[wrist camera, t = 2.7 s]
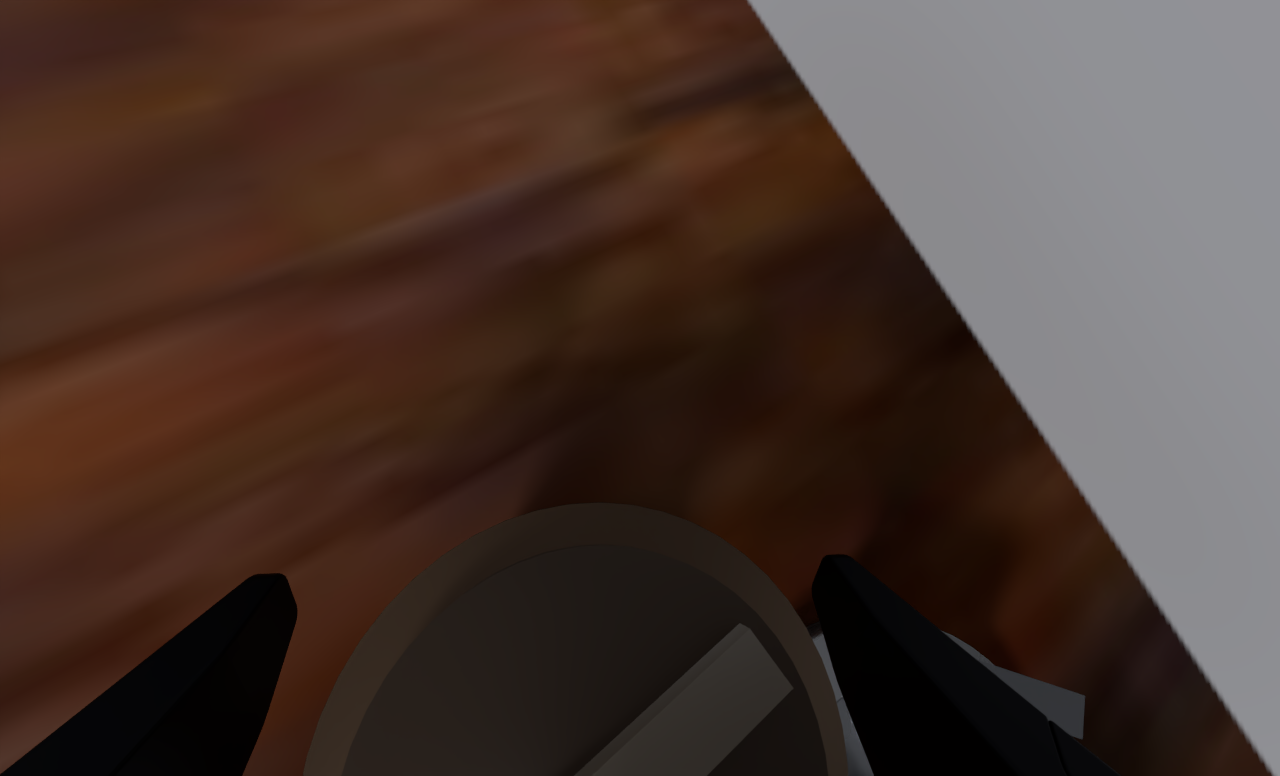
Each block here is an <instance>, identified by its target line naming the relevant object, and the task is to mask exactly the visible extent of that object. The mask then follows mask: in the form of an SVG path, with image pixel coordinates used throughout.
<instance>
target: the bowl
mask: <svg viewBox="0 0 1280 776" xmlns="http://www.w3.org/2000/svg"><path fill="white" fill-rule="evenodd" d="M806 628H807V630H808V632H809V634H810V636H811V638H812V640H813V642H814V644H815V646H816V648H817V650H818V652H819V654H820V656H821V658H822V661H823V663H824V666H825V669H826V672H827V674H828V677H829V680H830V682H831V685H832V688H833V691H834V694H835V698H836V702H837V706H838V710H839V714H840V719H841V723H842V727H843V734H844V741H845V748H846V756H847V763H848V776H874V775H873V772H872V770H871V767H870V765H869V762H868V759H867V757H866V754H865V752H864V749H863V747H862V744H861V742H860V739H859V737H858V734H857V732H856V729H855V727H854V724H853V721H852V719H851V716H850V714H849V711H848V709H847V706H846V704H845V701H844V699H843V696H842V693H841V691H840V688H839V685H838V683H837V680H836V676H835V673H834V670H833V667H832V663H831V660H830V656H829V653H828V649H827V646H826V642H825V639H824V635H823V632H822V628H821V625H820V621H819V622H816V623H814V624H811V625H809V626H808V627H806ZM942 632H944V631H942ZM944 633H945V634H946V635H947V636H948V637H950V638H951V639H952V640H953V641H955V642H956V643H957V644H958V645H960V646H961V647H962V648H963V649H964V650H966V651H967V652H968V653H969V654H971V655H972V656H973V657H974V658H975V659H977V660H978V661H979V662H980V663H982V664H983V665H984V666H985V667H987V668H988V669H989V670H990V671H991V672H993V673H994V674H995V675H996V676H998V677H999V678H1000V679H1001V680H1003V681H1004V682H1005V683H1006V684H1007V685H1009V686H1010V687H1011V688H1012V689H1014V690H1015V691H1016V692H1017V693H1019V694H1020V695H1021V696H1022V697H1023V698H1025V699H1026V700H1027V701H1028V702H1030V703H1031V704H1032V705H1033V706H1035V707H1036V708H1037V709H1038V710H1039V711H1041V712H1042V713H1043V714H1044V715H1045V716H1046V717H1047V719H1048V721H1049V720H1051V721H1053V722H1054V723H1056V724H1057V725H1058V726H1059V727H1061V728H1062V729H1063V730H1064V731H1065V732H1067V733H1068V734H1069V735H1071V736H1074V737H1077V738H1080V739H1083V722H1084V703H1085V696H1084V695H1081V694H1078V693H1075V692H1072V691H1069V690H1066V689H1063V688H1060V687H1057V686H1054V685H1051V684H1048V683H1045V682H1042V681H1039V680H1036V679H1033V678H1030V677H1027V676H1024V675H1021V674H1018V673H1015V672H1012V671H1009V670H1006V669H1003V668H1000V667H997V666H994V665H993V664H992V663H991V662H990V661H989V660H988V659H987V658H986V657H984V656H983V655H982V654H980V653H979V652H978V651H977V650H975V649H974V648H973V647H971V646H970V645H968V644H966V643H965V642H963V641H961V640H960V639H958V638H956V637H954V636H953V635H951V634H948V633H946V632H944Z"/></svg>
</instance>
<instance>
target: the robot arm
mask: <svg viewBox="0 0 1280 776" xmlns="http://www.w3.org/2000/svg"><path fill="white" fill-rule="evenodd" d="M812 597H813V601H814V604H815V608H816V611H817V615H818V618H819V621H820V625H821V628H822V632H823V635H824V639H825V642H826V646H827V649H828V653H829V656H830V660H831V663H832V667H833V670H834V673H835V676H836V680H837V683H838V685H839V688H840V691H841V693H842V696H843V699H844V701H845V704H846V706H847V709H848V711H849V714H850V716H851V719H852V721H853V724H854V727H855V729H856V732H857V734H858V737H859V739H860V742H861V744H862V747H863V749H864V752H865V754H866V757H867V759H868V762H869V765H870V767H871V770H872V772H873V775H874V776H1121V775H1120V774H1118V773H1117V772H1116V771H1114V770H1113V769H1112V768H1111V767H1109V766H1108V765H1107V764H1106V763H1104V762H1103V761H1102V760H1101V759H1099V758H1098V757H1097V756H1095V755H1094V754H1093V753H1092V752H1090V751H1089V750H1088V749H1087V748H1085V747H1084V746H1083V745H1082V744H1080V743H1079V742H1078V741H1077V740H1075V739H1074V738H1073V737H1072V736H1070V735H1069V734H1068V733H1067V732H1065V731H1064V730H1063V729H1062V728H1061V727H1059V726H1058V725H1057V724H1056V723H1054V722H1053V721H1051V720H1049V721H1048V719H1047V717H1046V716H1045V715H1044V714H1043V713H1042V712H1041V711H1039V710H1038V709H1037V708H1036V707H1035V706H1033V705H1032V704H1031V703H1030V702H1028V701H1027V700H1026V699H1025V698H1023V697H1022V696H1021V695H1020V694H1019V693H1017V692H1016V691H1015V690H1014V689H1012V688H1011V687H1010V686H1009V685H1007V684H1006V683H1005V682H1004V681H1003V680H1001V679H1000V678H999V677H998V676H996V675H995V674H994V673H993V672H991V671H990V670H989V669H988V668H987V667H985V666H984V665H983V664H982V663H980V662H979V661H978V660H977V659H975V658H974V657H973V656H972V655H971V654H969V653H968V652H967V651H966V650H964V649H963V648H962V647H961V646H960V645H958V644H957V643H956V642H955V641H953V640H952V639H951V638H950V637H948V636H947V635H946V634H945V633H944V632H942V631H941V630H940V629H939V628H937V627H936V626H935V625H934V624H932V623H931V622H930V621H929V620H928V619H926V618H925V617H924V616H923V615H921V614H920V613H919V612H918V611H916V610H915V609H914V608H913V607H912V606H910V605H909V604H908V603H907V602H905V601H904V600H903V599H902V598H901V597H899V596H898V595H897V594H896V593H894V592H893V591H892V590H891V589H889V588H888V587H887V586H886V585H885V584H883V583H882V582H881V581H880V580H878V579H877V578H876V577H875V576H873V575H872V574H871V573H870V572H869V571H867V570H866V569H865V568H864V567H862V566H861V565H860V564H859V563H857V562H856V561H855V560H854V559H853V558H851V557H850V556H848V555H844V554H836V555H826V556H825V557H824V558H823V559H822V561H821V563H820V566H819V568H818V571H817V573H816V576H815V578H814V581H813V584H812ZM296 620H297V605H296V602H295V599H294V597H293V594H292V591H291V588H290V586H289V583H288V580H287V578H286V576H284V575H283V574H280V573H271V574H256V575H253V576H251V577H249V578H248V579H246V580H245V581H244V582H242V583H241V584H240V585H239V586H237V587H236V588H235V589H234V590H232V591H231V592H230V593H228V594H227V595H226V596H225V597H223V598H222V599H221V600H220V601H218V602H217V603H216V604H215V605H213V606H212V607H211V608H210V609H208V610H207V611H206V612H205V613H203V614H202V615H201V616H199V617H198V618H197V619H196V620H194V621H193V622H192V623H191V624H189V625H188V626H187V627H186V628H184V629H183V630H182V631H181V632H179V633H178V634H177V635H175V636H174V637H173V638H172V639H170V640H169V641H168V642H167V643H165V644H164V645H163V646H162V647H160V648H159V649H158V650H157V651H155V652H154V653H153V654H152V655H150V656H149V657H148V658H146V659H145V660H144V661H143V662H141V663H140V664H139V665H138V666H136V667H135V668H134V669H133V670H131V671H130V672H129V673H128V674H126V675H125V676H124V677H122V678H121V679H120V680H119V681H117V682H116V683H115V684H114V685H112V686H111V687H110V688H109V689H107V690H106V691H105V692H104V693H102V694H101V695H100V696H99V697H97V698H96V699H95V700H93V701H92V702H91V703H90V704H88V705H87V706H86V707H85V708H83V709H82V710H81V711H80V712H78V713H77V714H76V715H75V716H73V717H72V718H71V719H69V720H68V721H67V722H66V723H64V724H63V725H62V726H61V727H59V728H58V729H57V730H56V731H54V732H53V733H52V734H51V735H49V736H48V737H47V738H46V739H44V740H43V741H42V742H40V743H39V744H38V745H37V746H35V747H34V748H33V749H32V750H30V751H29V752H28V753H27V754H25V755H24V756H23V757H22V758H20V759H19V760H18V761H17V762H15V763H14V764H13V765H11V766H10V767H9V768H8V769H6V770H5V771H4V772H3V773H1V774H0V776H242V775H243V772H244V770H245V768H246V765H247V763H248V761H249V758H250V756H251V754H252V751H253V749H254V747H255V744H256V742H257V739H258V737H259V735H260V732H261V730H262V727H263V725H264V722H265V719H266V716H267V713H268V710H269V707H270V704H271V700H272V697H273V694H274V691H275V688H276V685H277V681H278V678H279V675H280V672H281V669H282V665H283V662H284V659H285V656H286V653H287V649H288V646H289V643H290V640H291V637H292V633H293V630H294V627H295V624H296Z"/></svg>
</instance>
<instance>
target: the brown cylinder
mask: <svg viewBox="0 0 1280 776" xmlns="http://www.w3.org/2000/svg"><path fill="white" fill-rule="evenodd" d="M303 776H848V763H847V756H846V748H845V741H844V734H843V727H842V723H841V719H840V714H839V710H838V706H837V702H836V698H835V694H834V691H833V688H832V685H831V682H830V680H829V677H828V674H827V672H826V669H825V666H824V663H823V661H822V658H821V656H820V654H819V652H818V650H817V648H816V646H815V644H814V642H813V640H812V638H811V636H810V634H809V632H808V630H807V628H806V627H805V625H804V624H803V622H802V620H801V619H800V617H799V616H798V614H797V613H796V611H795V610H794V608H793V607H792V605H791V604H790V602H789V601H788V599H787V598H786V597H785V596H784V595H783V594H782V592H781V591H780V590H779V589H778V588H777V586H776V585H775V584H774V583H773V582H772V580H771V579H770V578H769V577H768V576H767V575H766V574H765V573H764V572H763V571H762V570H761V569H760V568H759V567H757V566H756V565H755V564H754V563H753V562H752V561H751V560H750V559H749V558H748V557H747V556H746V555H744V554H743V553H742V552H740V551H739V550H737V549H736V548H735V547H733V546H732V545H730V544H729V543H728V542H726V541H725V540H723V539H722V538H721V537H719V536H717V535H715V534H713V533H712V532H710V531H708V530H706V529H704V528H702V527H700V526H698V525H696V524H694V523H693V522H690V521H688V520H685V519H682V518H679V517H677V516H674V515H671V514H668V513H666V512H663V511H658V510H654V509H649V508H645V507H640V506H635V505H628V504H615V503H603V502H600V503H581V504H568V505H563V506H557V507H552V508H547V509H541V510H537V511H534V512H531V513H527V514H524V515H521V516H518V517H515V518H512V519H509V520H506V521H504V522H502V523H499V524H497V525H495V526H493V527H491V528H489V529H487V530H485V531H483V532H480V533H478V534H476V535H474V536H472V537H471V538H469V539H468V540H466V541H464V542H463V543H461V544H460V545H458V546H457V547H455V548H453V549H452V550H450V551H449V552H447V553H446V554H444V555H442V556H441V557H440V558H439V559H438V560H436V561H435V562H434V563H433V564H431V565H430V566H429V567H428V568H426V569H425V570H424V571H423V572H422V573H420V574H419V575H418V576H417V577H415V578H414V579H413V580H412V581H411V582H410V583H409V584H408V585H407V586H406V587H405V588H404V589H403V590H402V591H401V592H400V593H399V594H398V595H397V597H396V598H395V599H394V600H393V601H392V602H391V603H390V604H389V605H388V606H387V607H386V608H385V609H384V611H383V612H382V613H381V614H380V616H379V617H378V618H377V620H376V621H375V622H374V623H373V625H372V626H371V627H370V629H369V630H368V631H367V633H366V634H365V635H364V636H363V638H362V639H361V640H360V642H359V644H358V645H357V647H356V649H355V650H354V652H353V654H352V655H351V657H350V659H349V660H348V662H347V664H346V665H345V667H344V668H343V670H342V672H341V673H340V675H339V677H338V679H337V681H336V683H335V686H334V688H333V690H332V692H331V694H330V696H329V699H328V701H327V703H326V705H325V707H324V709H323V712H322V714H321V716H320V719H319V722H318V725H317V728H316V731H315V734H314V737H313V740H312V743H311V746H310V749H309V752H308V755H307V758H306V763H305V768H304V773H303Z"/></svg>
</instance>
